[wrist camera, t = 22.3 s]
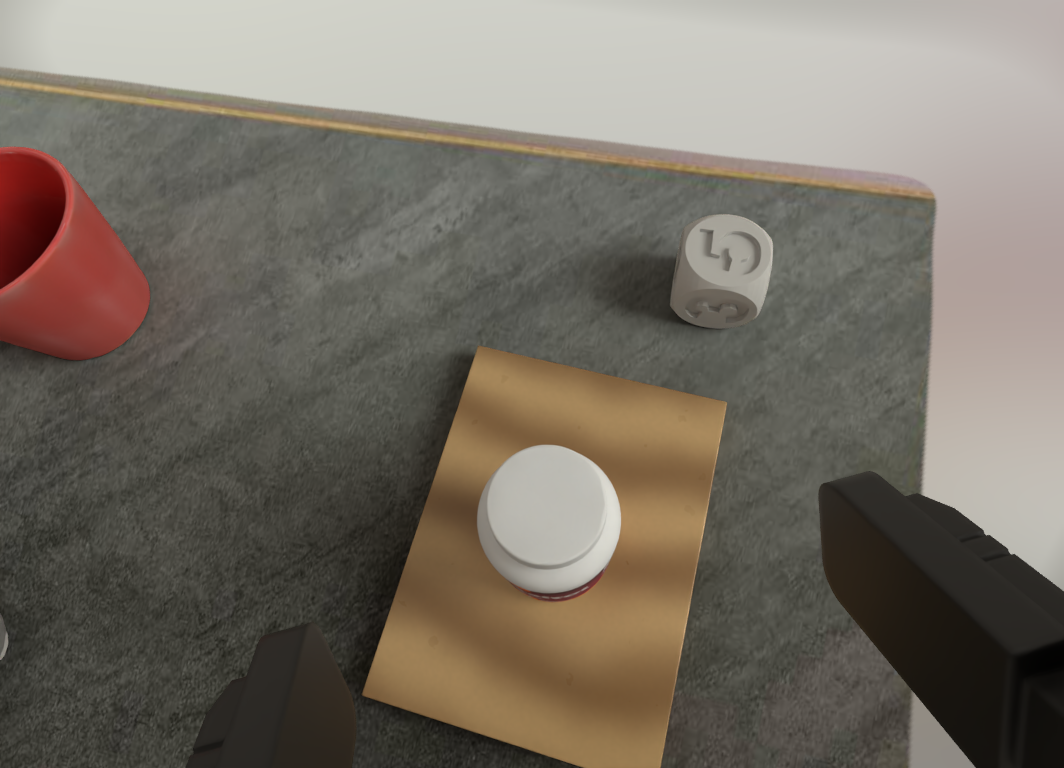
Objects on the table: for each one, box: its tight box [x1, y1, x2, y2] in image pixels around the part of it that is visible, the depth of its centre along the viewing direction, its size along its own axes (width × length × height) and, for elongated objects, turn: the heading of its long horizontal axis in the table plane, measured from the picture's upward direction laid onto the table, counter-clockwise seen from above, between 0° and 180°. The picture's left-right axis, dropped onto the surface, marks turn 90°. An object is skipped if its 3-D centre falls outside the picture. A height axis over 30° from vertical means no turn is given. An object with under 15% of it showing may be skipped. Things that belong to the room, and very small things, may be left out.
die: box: [670, 214, 773, 329], centre depth 39 cm, size 5×5×5 cm
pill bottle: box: [477, 445, 621, 602], centre depth 30 cm, size 6×6×11 cm
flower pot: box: [0, 147, 150, 360], centre depth 40 cm, size 11×11×10 cm
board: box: [362, 346, 727, 768], centre depth 36 cm, size 20×15×2 cm
